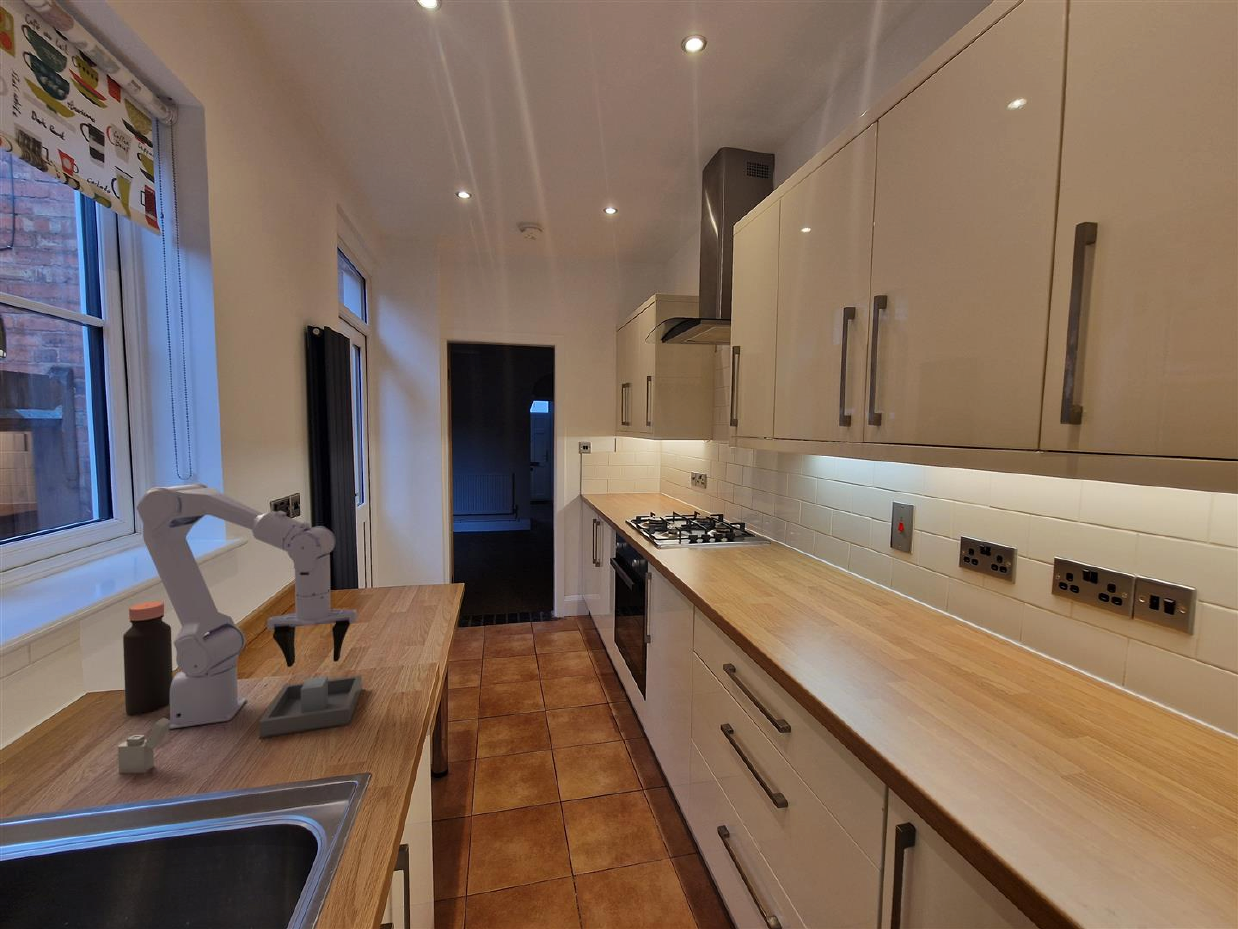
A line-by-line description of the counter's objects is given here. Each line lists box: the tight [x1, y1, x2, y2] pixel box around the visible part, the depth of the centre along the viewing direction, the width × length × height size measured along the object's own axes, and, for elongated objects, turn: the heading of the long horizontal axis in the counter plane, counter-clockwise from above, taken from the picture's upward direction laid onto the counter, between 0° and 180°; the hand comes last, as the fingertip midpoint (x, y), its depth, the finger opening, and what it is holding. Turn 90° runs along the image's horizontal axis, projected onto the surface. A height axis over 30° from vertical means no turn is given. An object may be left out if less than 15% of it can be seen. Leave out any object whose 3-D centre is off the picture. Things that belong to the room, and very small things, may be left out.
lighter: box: [117, 717, 172, 774], centre depth 79 cm, size 7×2×8 cm, turn 91°
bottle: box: [122, 601, 174, 715], centre depth 97 cm, size 7×7×20 cm
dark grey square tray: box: [258, 675, 363, 740], centre depth 96 cm, size 14×14×3 cm
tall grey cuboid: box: [301, 676, 329, 713], centre depth 96 cm, size 4×4×6 cm
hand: (314, 662), depth 96 cm, fingers open, 7 cm apart
